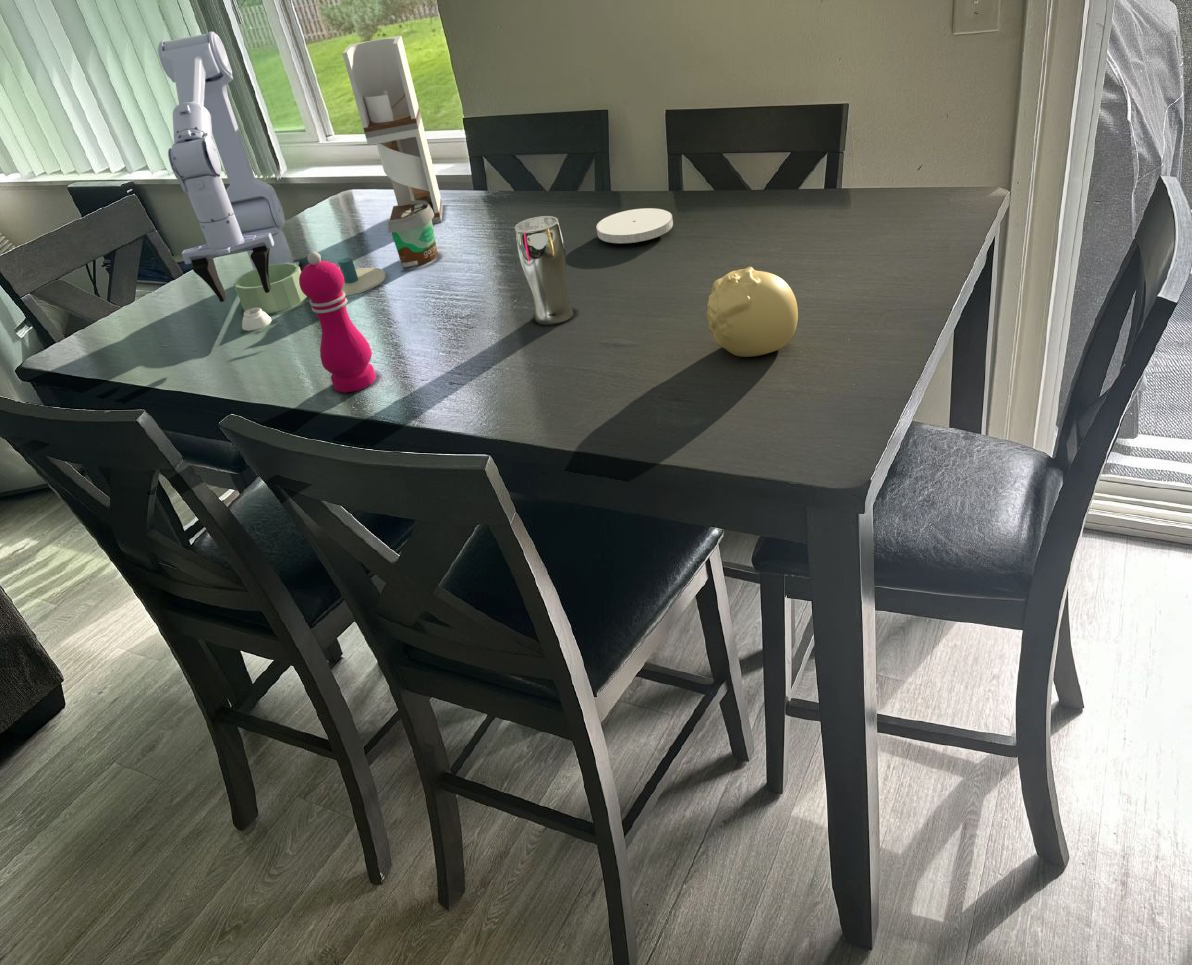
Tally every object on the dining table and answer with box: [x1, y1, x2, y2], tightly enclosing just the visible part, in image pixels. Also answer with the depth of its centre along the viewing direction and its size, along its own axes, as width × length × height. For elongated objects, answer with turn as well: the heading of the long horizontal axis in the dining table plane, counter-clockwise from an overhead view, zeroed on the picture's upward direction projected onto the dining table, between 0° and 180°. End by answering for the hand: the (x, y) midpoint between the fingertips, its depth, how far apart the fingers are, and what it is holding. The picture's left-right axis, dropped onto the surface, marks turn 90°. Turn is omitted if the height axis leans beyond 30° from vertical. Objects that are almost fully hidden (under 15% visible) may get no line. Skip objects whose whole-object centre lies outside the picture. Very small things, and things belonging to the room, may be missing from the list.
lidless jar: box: [241, 308, 273, 331], centre depth 161 cm, size 5×3×5 cm
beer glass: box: [514, 215, 574, 326], centre depth 142 cm, size 7×7×15 cm
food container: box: [387, 200, 438, 269], centre depth 175 cm, size 12×6×10 cm, turn 168°
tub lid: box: [337, 257, 387, 297], centre depth 171 cm, size 13×13×5 cm
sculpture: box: [706, 266, 799, 358], centre depth 124 cm, size 11×12×11 cm
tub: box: [233, 263, 308, 315], centre depth 169 cm, size 12×12×6 cm
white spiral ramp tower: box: [342, 35, 444, 225], centre depth 192 cm, size 11×11×35 cm
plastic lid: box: [596, 207, 674, 244], centre depth 171 cm, size 14×14×2 cm
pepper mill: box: [299, 251, 377, 393], centre depth 132 cm, size 7×7×20 cm
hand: (246, 295), depth 159 cm, fingers open, 7 cm apart
